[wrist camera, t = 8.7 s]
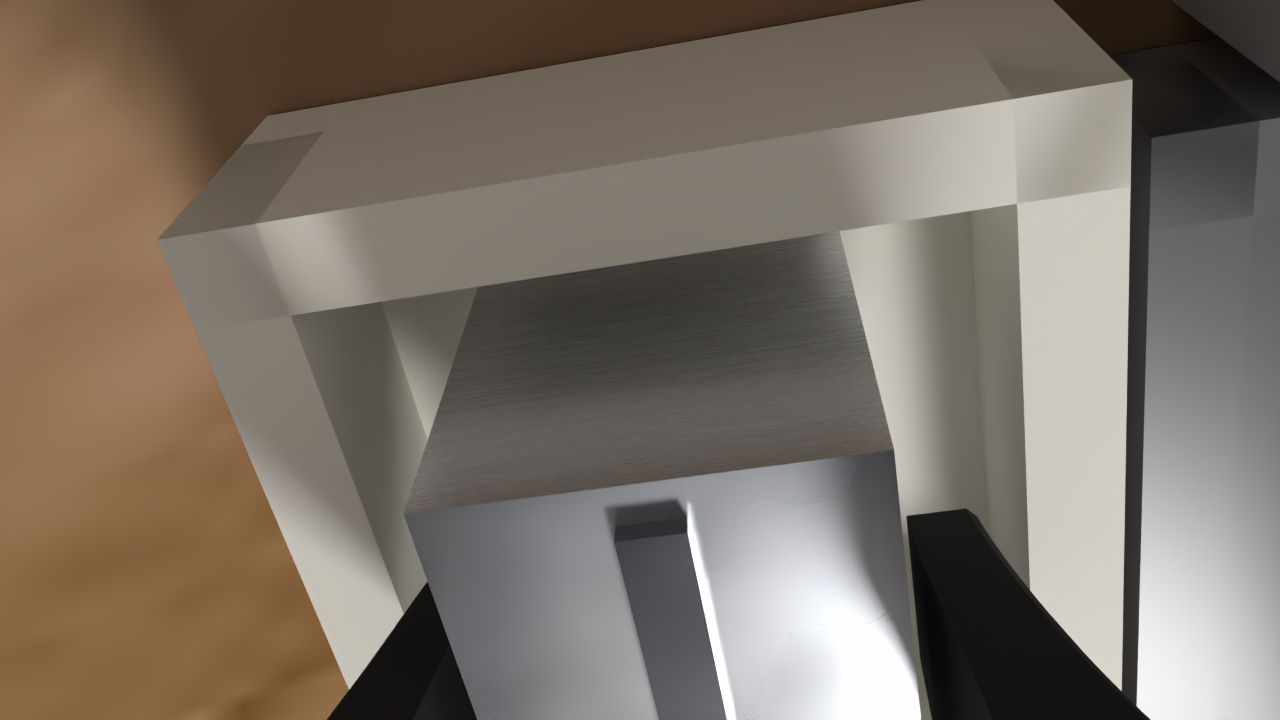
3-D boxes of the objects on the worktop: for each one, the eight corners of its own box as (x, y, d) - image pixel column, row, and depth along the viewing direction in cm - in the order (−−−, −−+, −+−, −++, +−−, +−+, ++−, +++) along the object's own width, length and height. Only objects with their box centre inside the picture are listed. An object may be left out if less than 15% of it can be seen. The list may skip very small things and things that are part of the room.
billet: (830, 196, 14) (898, 464, 9) (876, 594, 17) (944, 941, 12) (489, 250, 14) (398, 529, 10) (594, 627, 17) (560, 973, 13)
